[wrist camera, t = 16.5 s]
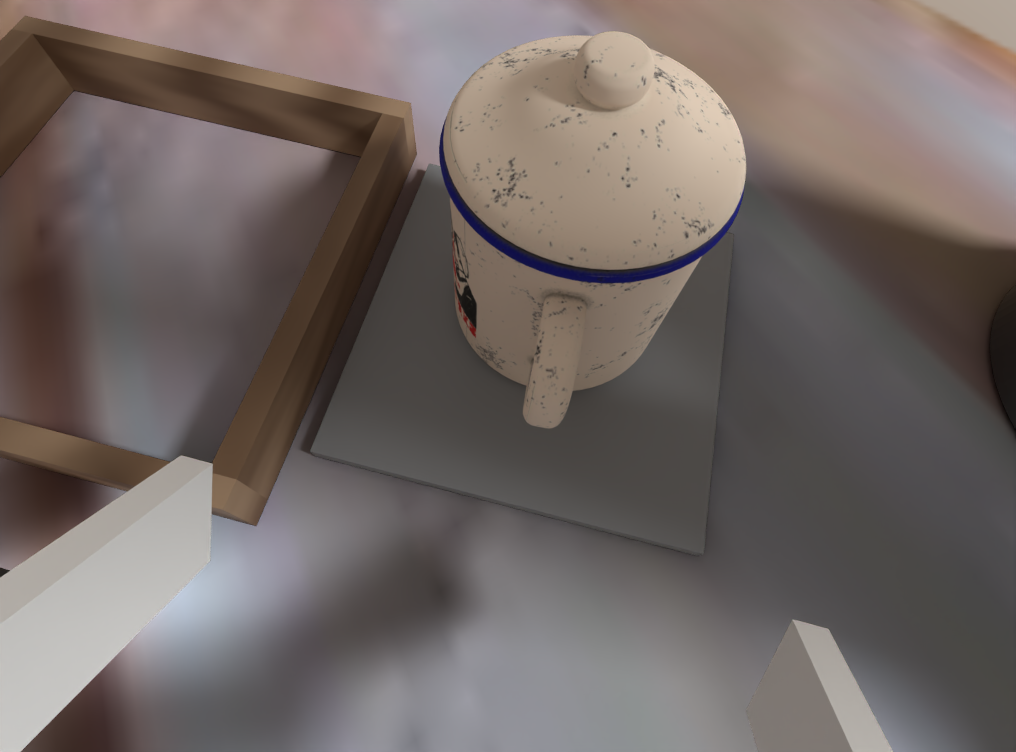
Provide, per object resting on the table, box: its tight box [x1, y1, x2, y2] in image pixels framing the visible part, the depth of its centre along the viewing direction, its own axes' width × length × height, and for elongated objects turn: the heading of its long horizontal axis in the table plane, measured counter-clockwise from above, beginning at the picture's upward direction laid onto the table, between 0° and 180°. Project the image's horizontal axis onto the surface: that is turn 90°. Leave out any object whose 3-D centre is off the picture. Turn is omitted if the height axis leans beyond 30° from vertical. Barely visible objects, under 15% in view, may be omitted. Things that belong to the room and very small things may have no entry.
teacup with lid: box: [439, 31, 746, 428], centre depth 18 cm, size 12×9×12 cm
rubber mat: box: [310, 164, 734, 556], centre depth 24 cm, size 15×15×1 cm
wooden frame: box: [0, 16, 417, 526], centre depth 24 cm, size 19×19×3 cm
